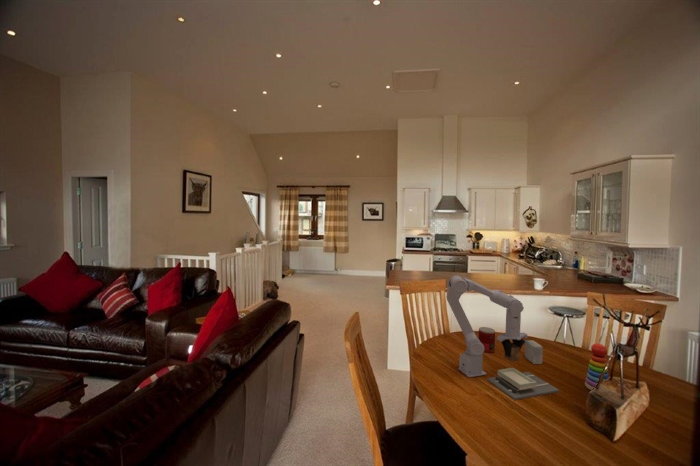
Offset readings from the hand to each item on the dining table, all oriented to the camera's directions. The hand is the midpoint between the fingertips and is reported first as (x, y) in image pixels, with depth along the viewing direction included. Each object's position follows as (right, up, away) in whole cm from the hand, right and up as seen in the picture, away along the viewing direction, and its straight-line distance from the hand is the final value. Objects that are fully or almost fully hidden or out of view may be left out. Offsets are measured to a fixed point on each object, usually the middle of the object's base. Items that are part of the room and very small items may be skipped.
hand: (511, 355), depth 134 cm
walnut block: (0, -2, 0) cm, 2 cm away
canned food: (0, -8, +26) cm, 27 cm away
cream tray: (-3, -8, -9) cm, 13 cm away
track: (0, -9, -8) cm, 13 cm away
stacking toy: (+29, -10, -10) cm, 33 cm away
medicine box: (+18, -9, +14) cm, 25 cm away
